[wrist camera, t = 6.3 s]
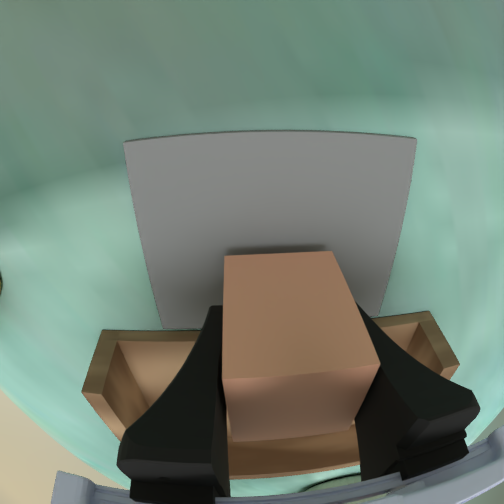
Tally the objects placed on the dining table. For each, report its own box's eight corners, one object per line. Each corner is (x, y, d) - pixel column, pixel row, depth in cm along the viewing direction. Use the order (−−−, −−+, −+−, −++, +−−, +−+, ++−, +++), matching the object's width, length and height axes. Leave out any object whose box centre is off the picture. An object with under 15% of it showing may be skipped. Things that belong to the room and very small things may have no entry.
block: (320, 325, 16) (348, 430, 11) (230, 331, 16) (232, 441, 11) (331, 251, 13) (380, 363, 8) (224, 255, 13) (222, 379, 8)
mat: (376, 312, 17) (377, 315, 17) (163, 324, 17) (163, 328, 17) (413, 137, 12) (417, 139, 12) (125, 140, 11) (123, 142, 11)
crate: (374, 417, 25) (386, 458, 22) (157, 432, 25) (152, 476, 21) (429, 310, 18) (459, 364, 14) (102, 330, 17) (81, 391, 13)
